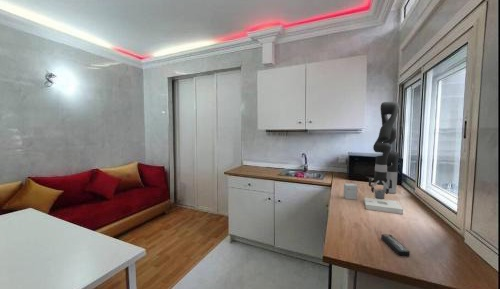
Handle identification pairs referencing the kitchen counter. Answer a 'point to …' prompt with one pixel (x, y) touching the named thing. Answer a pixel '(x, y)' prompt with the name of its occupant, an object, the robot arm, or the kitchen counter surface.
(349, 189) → the small box
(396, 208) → the socket plate
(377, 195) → the plug
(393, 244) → the multiport hub
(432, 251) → the kitchen counter surface
